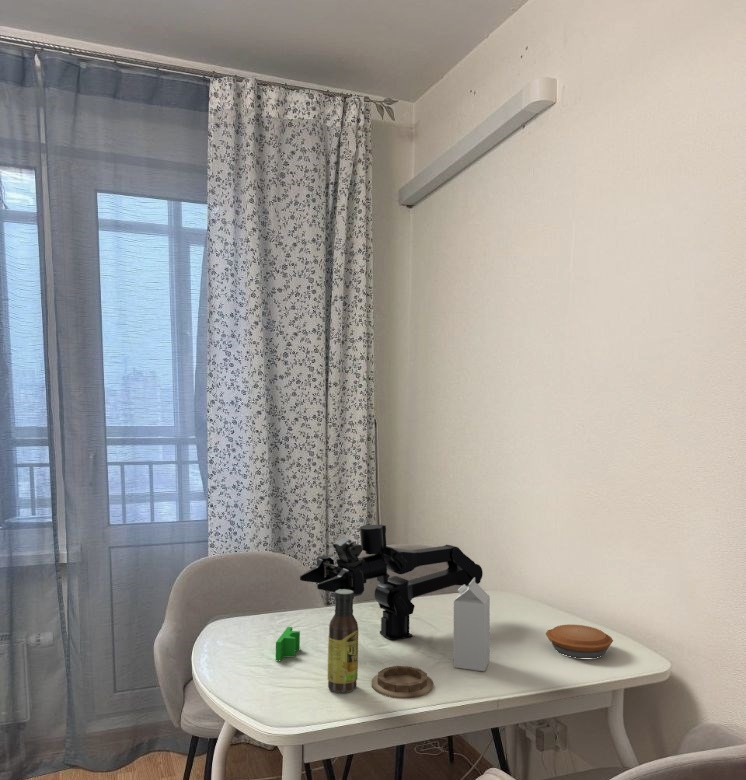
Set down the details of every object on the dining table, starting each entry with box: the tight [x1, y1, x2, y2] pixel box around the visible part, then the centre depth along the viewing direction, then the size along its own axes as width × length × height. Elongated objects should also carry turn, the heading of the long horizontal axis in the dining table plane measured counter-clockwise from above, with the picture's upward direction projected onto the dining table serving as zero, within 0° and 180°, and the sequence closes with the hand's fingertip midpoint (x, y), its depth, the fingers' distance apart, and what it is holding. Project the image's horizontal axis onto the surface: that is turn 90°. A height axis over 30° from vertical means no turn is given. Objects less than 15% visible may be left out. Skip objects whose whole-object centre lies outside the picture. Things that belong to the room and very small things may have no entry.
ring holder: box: [371, 665, 434, 699], centre depth 138 cm, size 13×13×2 cm
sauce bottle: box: [327, 589, 359, 694], centre depth 136 cm, size 6×6×20 cm
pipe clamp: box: [275, 626, 301, 662], centre depth 156 cm, size 11×4×5 cm, turn 173°
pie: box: [545, 624, 614, 659], centre depth 159 cm, size 15×16×5 cm
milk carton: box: [452, 577, 491, 672], centre depth 150 cm, size 7×7×19 cm
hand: (308, 582), depth 156 cm, fingers open, 9 cm apart
